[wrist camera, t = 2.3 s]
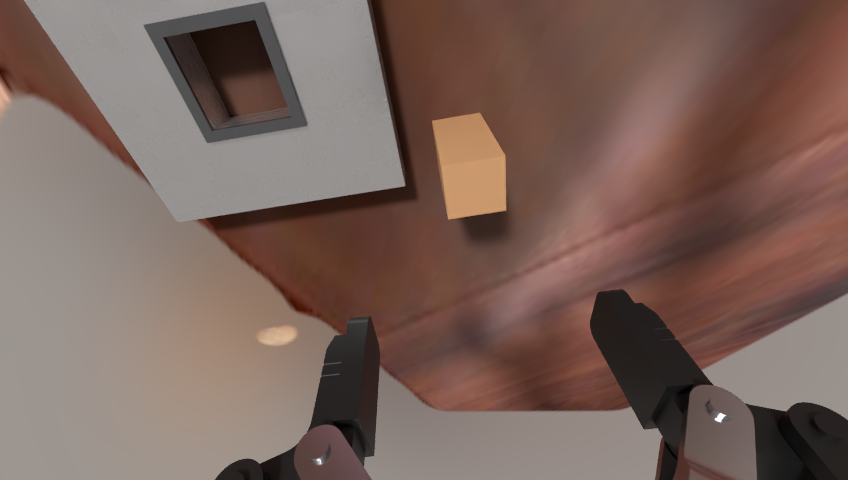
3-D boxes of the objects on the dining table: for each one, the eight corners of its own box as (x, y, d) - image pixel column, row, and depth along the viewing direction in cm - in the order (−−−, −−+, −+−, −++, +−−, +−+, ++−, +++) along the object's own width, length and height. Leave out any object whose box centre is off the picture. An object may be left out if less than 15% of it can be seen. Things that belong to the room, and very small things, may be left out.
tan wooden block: (479, 112, 29) (505, 155, 21) (482, 158, 31) (506, 210, 24) (432, 120, 29) (441, 166, 22) (438, 165, 31) (448, 219, 24)
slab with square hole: (340, -153, 20) (330, -174, 17) (405, 170, 31) (405, 187, 29) (13, -82, 21) (-45, -92, 18) (194, 204, 33) (175, 224, 30)
